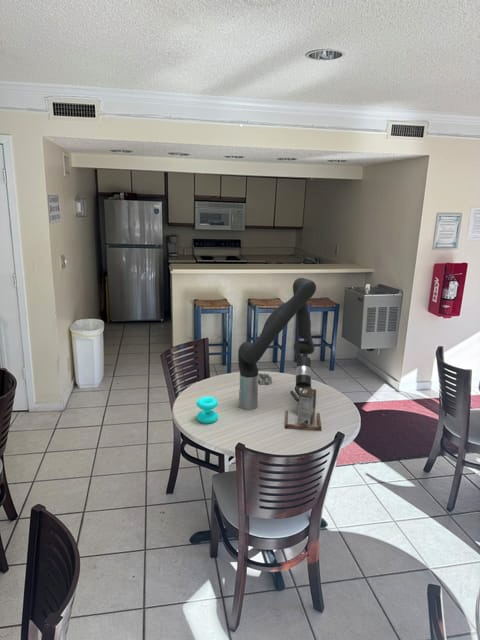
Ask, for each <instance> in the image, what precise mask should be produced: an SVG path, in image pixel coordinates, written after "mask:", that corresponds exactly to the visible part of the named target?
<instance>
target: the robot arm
mask: <svg viewBox="0 0 480 640" xmlns="http://www.w3.org/2000/svg"><path fill="white" fill-rule="evenodd" d="M316 291H317V284H316V283H315V281H313V280H311V279H308V278H304V277H298V278H296V279H295V280H294V282H293V284H292V294H293V295H292V297H291V298H290V299H288V300H287V301H286V302H284V303H283V304H281V305H279V306H278V307H276V308H275V309H274V310H273V311H272V312H271V313H270V315H269V316H268V318H266V320H265V322H264V324H263V327H262V331H261V333H260V335H259V336H258V337H257V339H256V340H255V341H254V342H251V341H244V342H243V343H241V344H240V345H239V346H238V347H239V348H238V352H237V357H238V358H237V359H238V363H237V364H238V369H239V390H238V408H239V409H243V410H249V411H251V410H255V409H257V408H258V403H259V402H258V400H259V380H258V373H259V368H258V366H257V363H258V362H259V361H260V360H261V359H262V357H263V356H264V354H265V353H266V351H267V350H268V348H269V346H270V345H271V344H272V343H273V341H274V340H275V339H276V338H277V337H278V336H279V334H280V333H281V332H282V330H283V331H284V328H285V327H286V326H287V325H289V322H290V321H291V319H293V318H294V316H295V315H296V331H297V332H296V334H297V336H298V337H299V338H301V339H302V338H303V339H305V340H296V341H295V342H294V343H293V350H294V355H295V357H296V370H295V387H294V389H291V390H290V393H289V394H290V395H291V396H292V398H293V399H294V401H295V402H296V403H297V402H298V403H299V394H300V392H301V391H302V389H303V387H305V388H311V389H313V387H312V368H311V366H312V365H311V364H312V361H311V358H310V357H309V356H306V355H312V354H313V353H314V352H315V344H314V341H313V337H312V325H311V324H312V323H311V322H312V321H311V316H310V313H309V309H308V306H307V305H308V304H307V302H308V301H309V300H310V299H312V298H313V296H314V294H315V293H316Z"/></svg>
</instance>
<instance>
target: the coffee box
mask: <svg viewBox="0 0 480 640" xmlns="http://www.w3.org/2000/svg"><path fill="white" fill-rule="evenodd" d="M311 388H312V387H311ZM311 388H305V387H303V389H302V391H301V392H300V394H299V395H298V398H299V402H298V407H297V424H298V425H313V424H314V422H316V421H315V419H316V418H315V417H316V400H317V389H314V388H312V389H311Z"/></svg>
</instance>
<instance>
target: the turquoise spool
mask: <svg viewBox="0 0 480 640" xmlns="http://www.w3.org/2000/svg"><path fill="white" fill-rule="evenodd" d="M218 404H219V402H218V399H216V398H215V397H213V396H203V397H200V398H198V399H197V401H196V406H197V407H198V409H200V411H199V412H198V413H197V415H196V419H197V421H198V422H200V423H201V422H202V423H201V424H213V423H215V422H216V421H217V420H218V417H219V415H218V413H217V412H216V411H215V410H214V409H215V408H217V406H218Z"/></svg>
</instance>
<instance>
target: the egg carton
mask: <svg viewBox="0 0 480 640" xmlns="http://www.w3.org/2000/svg"><path fill="white" fill-rule="evenodd" d="M272 382H273V377H272V376H271V375H269V373H267V374H266V373H259V372H258V383H259V385H262V386H265V385H269V386H270V385H272Z"/></svg>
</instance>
